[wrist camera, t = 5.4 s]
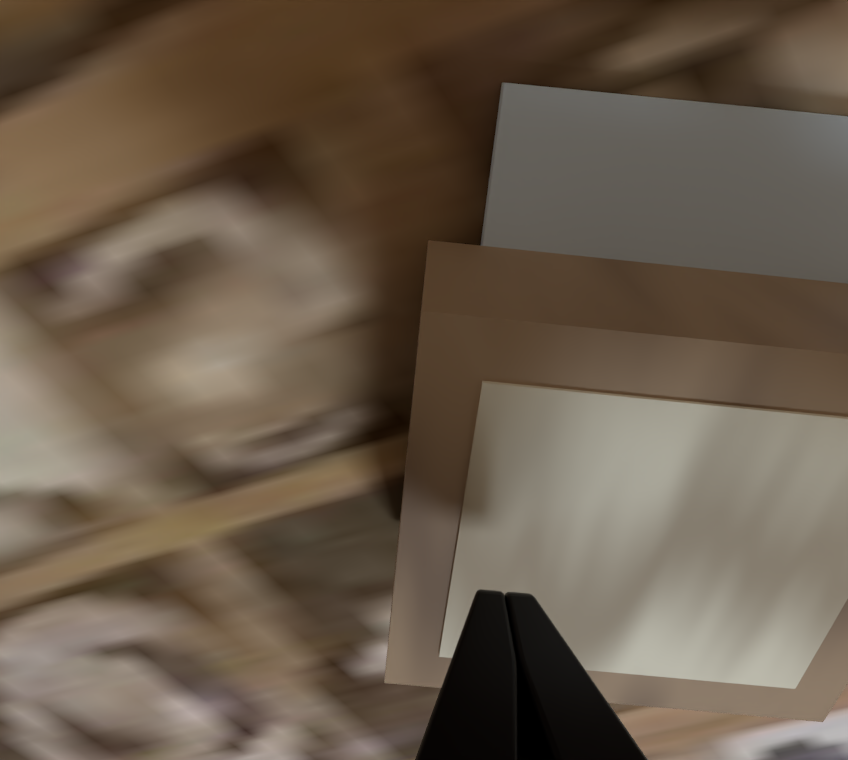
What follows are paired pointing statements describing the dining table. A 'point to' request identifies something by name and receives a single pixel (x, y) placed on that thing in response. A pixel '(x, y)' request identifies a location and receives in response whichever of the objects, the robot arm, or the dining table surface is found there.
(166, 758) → the dining table surface
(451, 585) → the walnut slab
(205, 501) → the dining table surface
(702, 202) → the rubber mat
